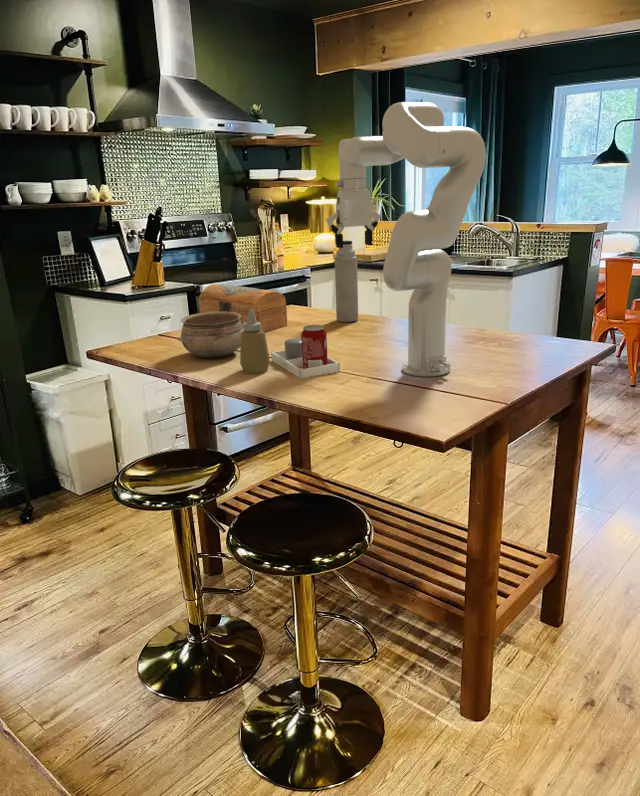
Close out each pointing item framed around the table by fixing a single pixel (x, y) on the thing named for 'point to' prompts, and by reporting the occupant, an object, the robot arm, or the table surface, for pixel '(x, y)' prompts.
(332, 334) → the table surface
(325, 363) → the soda can
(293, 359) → the caddy
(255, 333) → the squeeze bottle
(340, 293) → the thermos bottle
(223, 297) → the wooden box
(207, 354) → the cooking pot
